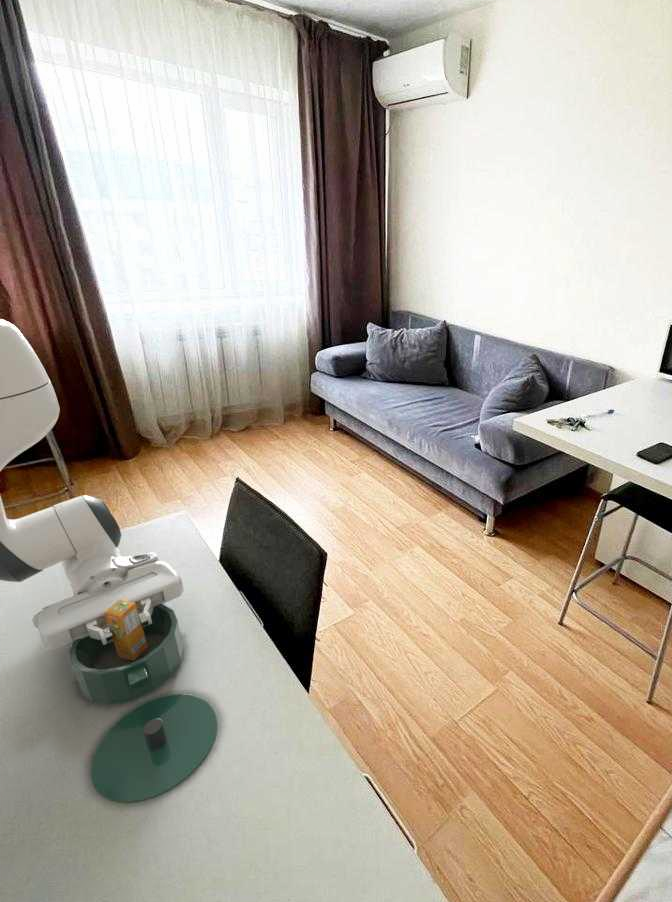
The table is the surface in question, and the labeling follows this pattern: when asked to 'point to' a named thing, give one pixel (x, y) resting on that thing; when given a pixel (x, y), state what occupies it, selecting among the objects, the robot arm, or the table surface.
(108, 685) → the pot
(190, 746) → the pot lid
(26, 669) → the table surface
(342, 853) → the table surface
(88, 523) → the robot arm
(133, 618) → the supplement box
